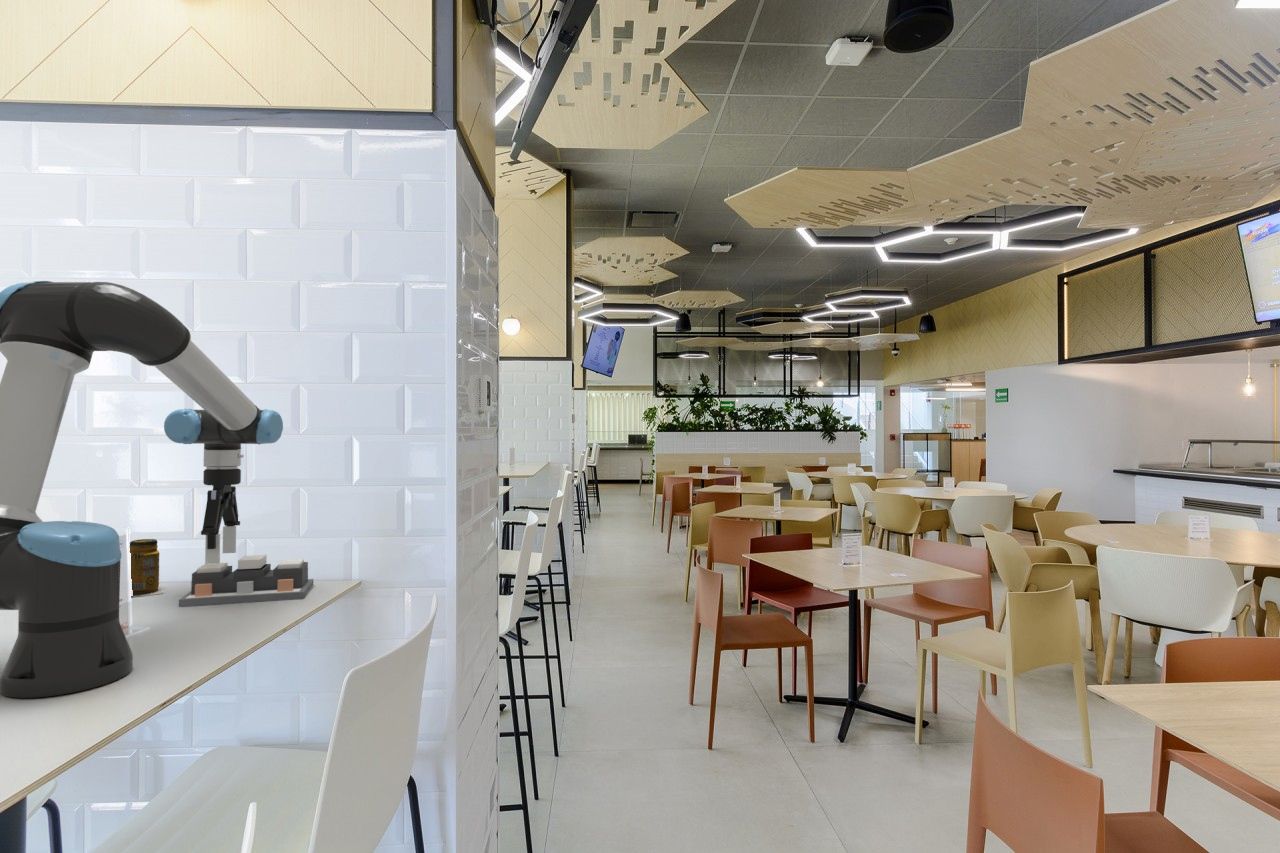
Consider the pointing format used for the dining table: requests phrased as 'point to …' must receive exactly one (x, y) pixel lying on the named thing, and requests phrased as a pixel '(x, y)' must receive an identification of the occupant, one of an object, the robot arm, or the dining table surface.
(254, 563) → the button mid
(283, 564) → the button right
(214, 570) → the button left
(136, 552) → the condiment
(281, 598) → the switch unit
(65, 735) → the dining table surface
